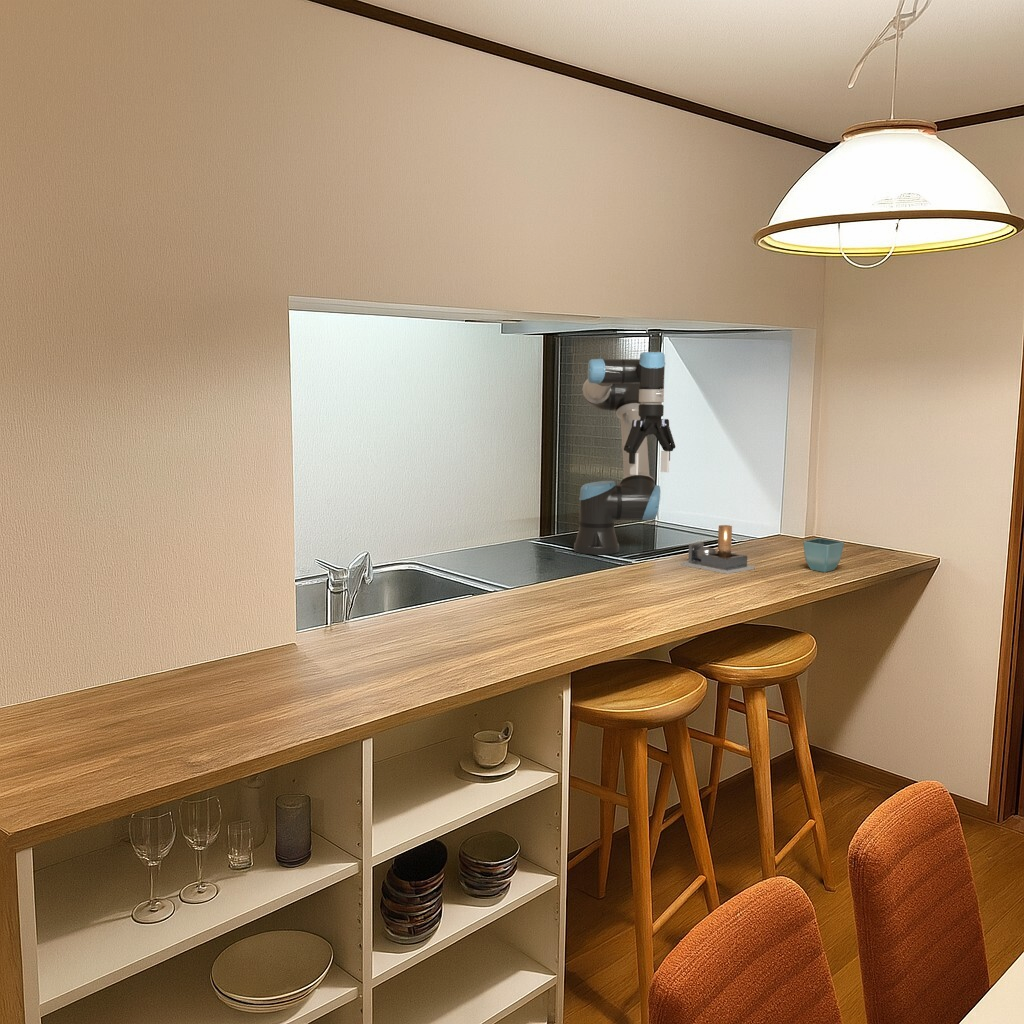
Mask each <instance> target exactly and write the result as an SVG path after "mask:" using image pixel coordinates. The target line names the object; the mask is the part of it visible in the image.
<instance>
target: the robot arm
mask: <svg viewBox="0 0 1024 1024" xmlns="http://www.w3.org/2000/svg"><path fill="white" fill-rule="evenodd" d="M665 367H666V360H665V354H664V352H662V351H645V352H643V351H642V352H641V353H640V355H639V358H638V359H636V358H635V359H632V358H631V359H629V358H626V359H625V358H623V359H622V358H621V359H619V358H617V359H616V358H594V359H593V358H592V359H589V361H588V364H587V379H586V380H585V381H584V382H583V384H582V388H581V394H582V397H583V399H584V401H585V402H586V403H587V404H588V405H589V406H591V407H593V408H595V409H598V410H602V411H614V412H615V415H616V417H617V418H618V419H619V420H620V426H621V427H620V429H621V431H620V432H621V444H622V447H621V449H622V461H623V462H622V464H623V467H622V468H623V478H621V480H620V481H619V485H618V484H616V482H615V481H614V480H600V481H591V482H587V483H584V484H583V485H582V486H581V487H580V490H579V491H580V492H579V498H578V499H579V523H578V524H579V527H578V530H577V531H578V532H577V534H576V539H575V541H574V543H573V551H574V552H575V553H579V554H585V555H594V556H595V555H613V554H617V553H620V544H619V542H618V538H617V533H616V531H615V521H642V522H644V521H653V520H655V519H656V518H657V516H658V513H659V507H660V500H661V486H660V485H657V484H655V483H656V482H655V479H654V477H652V476H651V475H650V464H649V463H650V462H649V451H648V450H649V449H648V448H649V447H648V437H647V436H648V435H649V436H651V435H653V436H655V438H656V440H657V441H658V443H659V445H660V446H661V448H662V450H660V472H661V473H669V472H670V471H669V470H670V461H671V452H673V451H674V449H676V444H675V441H674V437H673V435H672V431H671V427H670V420H669V419H668V418H662V417H664V408H665V407H664V404H663V403H664V400H665V399H664V398H665V397H664V395H665V394H664V393H665V372H666V371H665Z"/></svg>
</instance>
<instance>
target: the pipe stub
mask: <svg viewBox="0 0 1024 1024" xmlns="http://www.w3.org/2000/svg"><path fill="white" fill-rule="evenodd" d="M732 532H733V526H732V525H730V524H729V525H728V524H720V525H718V532H717V552H718V556H719V557H724V558H728V557H731V553H732V537H733V535H732V534H733V533H732Z"/></svg>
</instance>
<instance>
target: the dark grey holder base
mask: <svg viewBox="0 0 1024 1024" xmlns="http://www.w3.org/2000/svg"><path fill="white" fill-rule="evenodd" d="M704 543H705V542H702V541H700V542H694V543H688V560H683V561H681V562H680V563H681V564H680V565H681V566H685V567H686V566H687V567H691V568H694V569H695V568H696V569H700V568H701V570H706V571H711V572H717V573H719V574H720V573H721V574H724V575H725V574H726V575H729V574H733V573H738V572H745V571H750V570H754V569H755V565H753V564H748V555H745V554H741V553H733V552H731V557H728V558H724V557H719V556H718V551H716V549H715V548H714V547H713V548H712V547H708V546H707V547H706V546H704V545H705V544H704Z"/></svg>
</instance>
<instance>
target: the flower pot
mask: <svg viewBox="0 0 1024 1024" xmlns="http://www.w3.org/2000/svg"><path fill="white" fill-rule="evenodd" d="M844 545H845V543H844V541H840V540H835V539H834V540H833V539H828V538H820V537H817V538H814V539H809V540H803V551H804V552H803V553H804V558H805V561H806V564H807V566H808V567H809V568H810V570H812V571H817V572H822V573H826V572H827V573H828V572H832V571H834V570H835V569H836V568H837V567H838V565H839V563H840V562H841V559H842V554H843V549H844Z"/></svg>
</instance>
